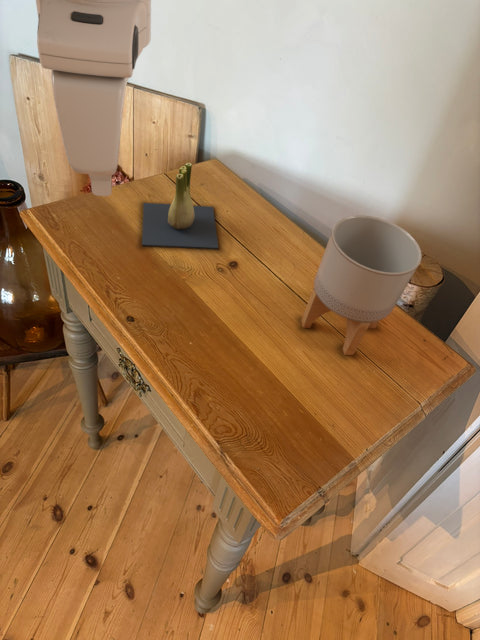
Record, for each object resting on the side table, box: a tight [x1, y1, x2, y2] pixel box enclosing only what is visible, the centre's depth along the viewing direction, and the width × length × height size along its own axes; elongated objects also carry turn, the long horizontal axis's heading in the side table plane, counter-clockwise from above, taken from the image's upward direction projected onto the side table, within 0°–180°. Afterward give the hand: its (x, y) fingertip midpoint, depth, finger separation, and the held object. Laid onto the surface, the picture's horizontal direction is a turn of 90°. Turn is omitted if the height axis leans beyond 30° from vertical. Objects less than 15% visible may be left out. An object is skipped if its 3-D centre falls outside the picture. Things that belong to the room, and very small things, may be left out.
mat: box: [141, 202, 219, 250], centre depth 90 cm, size 14×13×1 cm
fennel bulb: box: [168, 162, 194, 229], centre depth 85 cm, size 6×5×12 cm
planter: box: [300, 214, 422, 356], centre depth 72 cm, size 13×13×18 cm
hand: (106, 165), depth 47 cm, fingers open, 8 cm apart
